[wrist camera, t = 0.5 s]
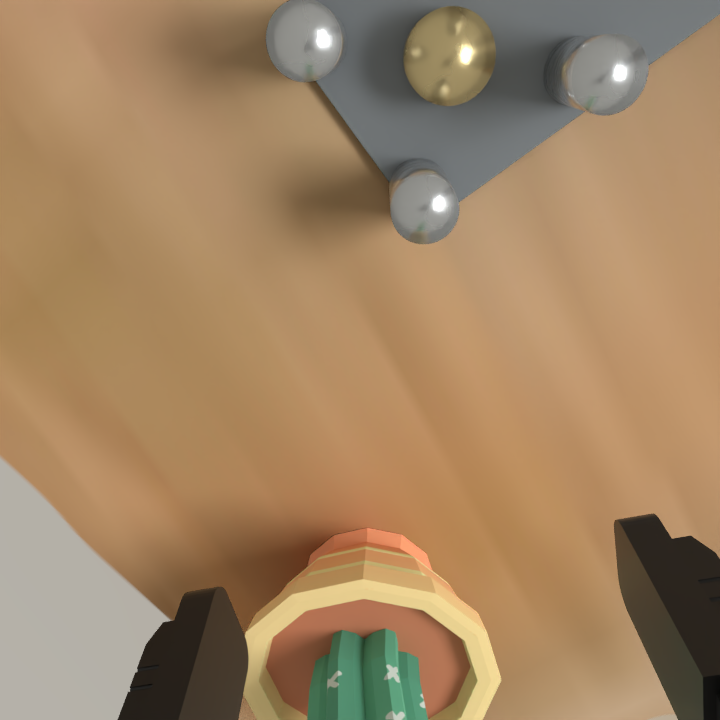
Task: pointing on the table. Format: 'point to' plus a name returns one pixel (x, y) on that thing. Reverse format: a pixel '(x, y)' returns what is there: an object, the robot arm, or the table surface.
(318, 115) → the table surface
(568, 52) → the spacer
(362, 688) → the potted cactus
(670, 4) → the mat
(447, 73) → the brushed gold puck
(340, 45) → the cylinder
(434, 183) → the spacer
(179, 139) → the table surface
